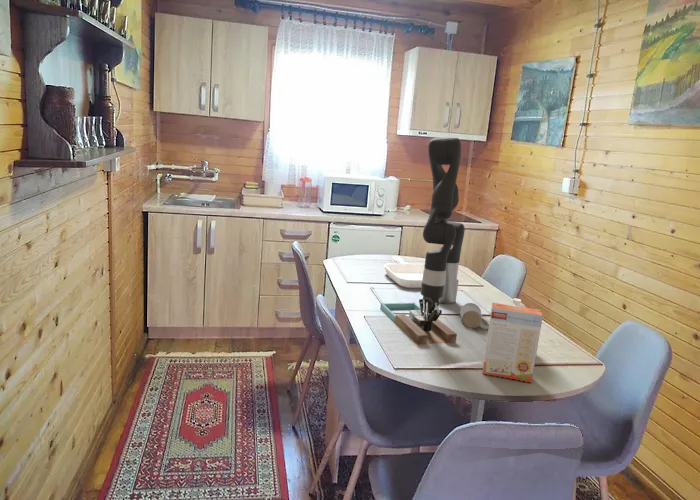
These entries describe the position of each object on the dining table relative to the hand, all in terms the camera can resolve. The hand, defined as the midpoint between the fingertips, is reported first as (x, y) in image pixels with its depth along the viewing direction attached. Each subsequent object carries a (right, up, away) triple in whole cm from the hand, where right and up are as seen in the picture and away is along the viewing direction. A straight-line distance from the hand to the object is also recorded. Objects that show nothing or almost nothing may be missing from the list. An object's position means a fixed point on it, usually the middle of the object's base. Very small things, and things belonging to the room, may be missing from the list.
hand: (426, 330), depth 181 cm
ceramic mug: (+19, -1, +15) cm, 24 cm away
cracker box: (+20, -10, -23) cm, 32 cm away
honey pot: (+28, -6, -4) cm, 29 cm away
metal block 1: (-3, +2, +9) cm, 9 cm away
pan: (+2, +15, +75) cm, 77 cm away
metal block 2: (-2, 0, +4) cm, 4 cm away
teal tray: (-6, +2, +18) cm, 19 cm away
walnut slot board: (-1, -2, +2) cm, 3 cm away
